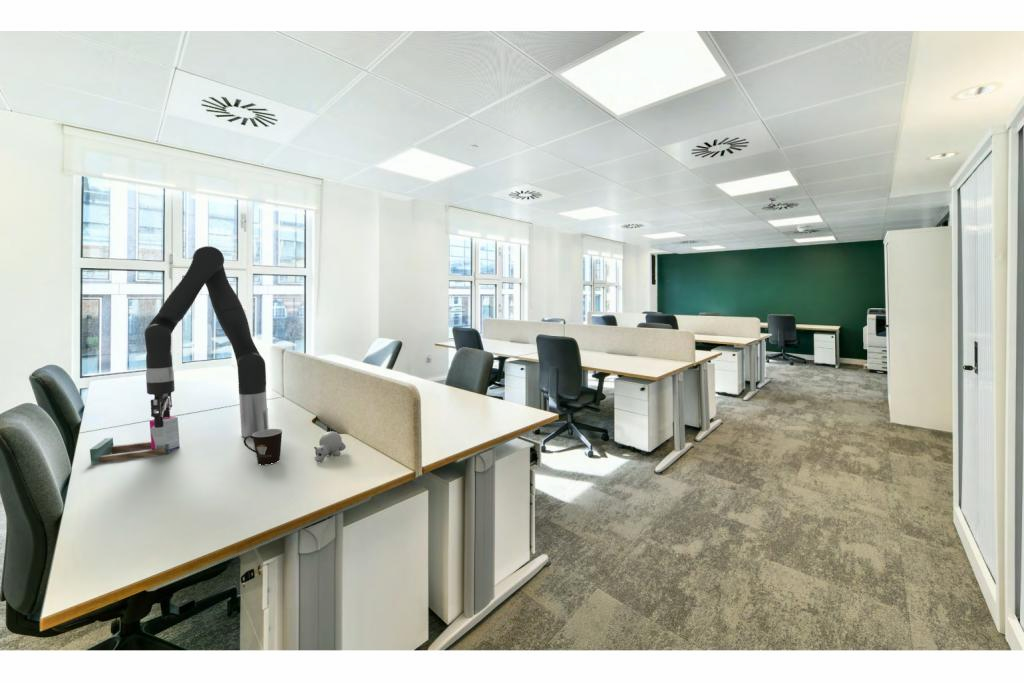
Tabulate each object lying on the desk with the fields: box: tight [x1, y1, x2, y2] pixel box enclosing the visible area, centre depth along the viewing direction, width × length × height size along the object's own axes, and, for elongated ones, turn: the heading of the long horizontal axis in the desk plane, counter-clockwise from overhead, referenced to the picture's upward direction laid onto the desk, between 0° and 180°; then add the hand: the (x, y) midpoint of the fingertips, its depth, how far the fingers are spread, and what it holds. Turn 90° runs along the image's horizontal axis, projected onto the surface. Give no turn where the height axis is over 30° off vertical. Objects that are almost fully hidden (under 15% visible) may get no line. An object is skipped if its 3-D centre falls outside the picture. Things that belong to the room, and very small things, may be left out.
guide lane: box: [89, 437, 171, 465], centre depth 144 cm, size 20×12×5 cm, turn 117°
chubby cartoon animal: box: [313, 431, 347, 463], centre depth 141 cm, size 7×12×8 cm, turn 162°
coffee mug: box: [243, 428, 283, 466], centre depth 138 cm, size 12×9×10 cm
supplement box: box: [149, 416, 181, 452], centre depth 148 cm, size 6×6×12 cm
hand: (162, 424), depth 147 cm, fingers open, 8 cm apart
